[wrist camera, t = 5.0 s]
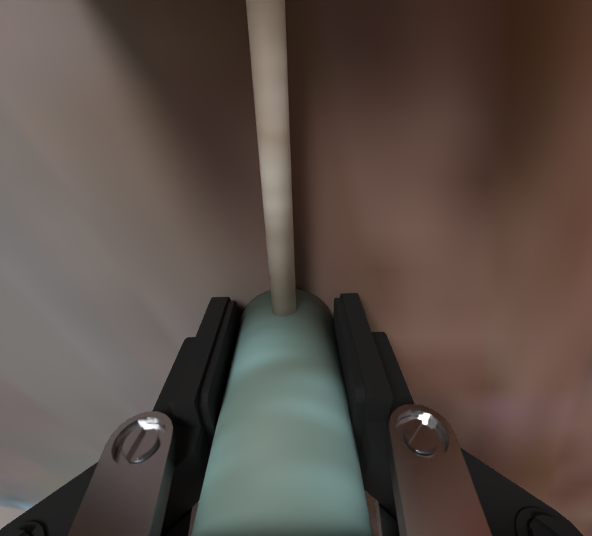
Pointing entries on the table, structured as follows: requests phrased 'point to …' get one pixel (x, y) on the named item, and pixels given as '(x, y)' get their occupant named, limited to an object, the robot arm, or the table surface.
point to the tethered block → (281, 363)
